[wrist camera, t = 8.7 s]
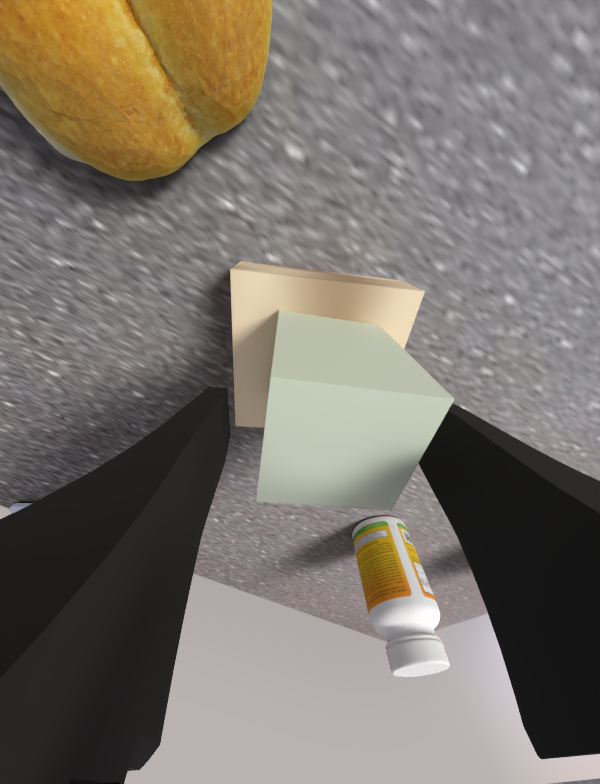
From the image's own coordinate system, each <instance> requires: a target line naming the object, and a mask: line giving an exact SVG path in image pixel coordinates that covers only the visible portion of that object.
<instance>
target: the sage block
mask: <svg viewBox="0 0 600 784" xmlns="http://www.w3.org/2000/svg"><path fill="white" fill-rule="evenodd" d="M453 401H454V398H453V397H452V396H451V395H450V394H449V393H448V392H447V391H446V390H445V389H444V388H443V387H442V386H441V385H440V384H439V383H438V382H437V381H436V380H434V379H433V378H432V377H431V376H430V375H429V374H428V373H427V372H426V371H425V370H424V369H423V368H422V367H421V366H420V365H419V364H418V363H417V362H416V361H415V360H414V359H413V358H412V357H411V356H410V355H409V354H408V353H407V352H406V351H405V350H404V349H403V348H402V347H401V346H400V345H399V344H398V343H397V342H396V341H395V340H394V339H393V338H392V337H391V336H390V335H389V334H388V333H387V332H386V331H385V330H384V329H383V328H382V327H381V326H380V325H374V324H368V323H361V322H355V321H348V320H342V319H335V318H329V317H322V316H316V315H309V314H303V313H296V312H290V311H284V310H279V314H278V322H277V330H276V338H275V346H274V354H273V362H272V370H271V378H270V387H269V395H268V404H267V413H266V421H265V430H264V439H263V447H262V456H261V465H260V473H259V482H258V491H257V499H256V502H270V503H285V504H300V505H316V506H331V507H346V508H361V509H376V510H392V508H393V507H394V505H395V503H396V501H397V499H398V498H399V496H400V494H401V492H402V491H403V489H404V487H405V485H406V484H407V482H408V480H409V478H410V477H411V475H412V473H413V471H414V470H415V468H416V466H417V464H418V463H419V461H420V459H421V457H422V456H423V454H424V452H425V450H426V449H427V447H428V445H429V443H430V442H431V440H432V438H433V436H434V435H435V433H436V431H437V429H438V428H439V426H440V424H441V422H442V421H443V419H444V417H445V415H446V413H447V412H448V410H449V408H450V406H451V405H452V403H453Z"/></svg>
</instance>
